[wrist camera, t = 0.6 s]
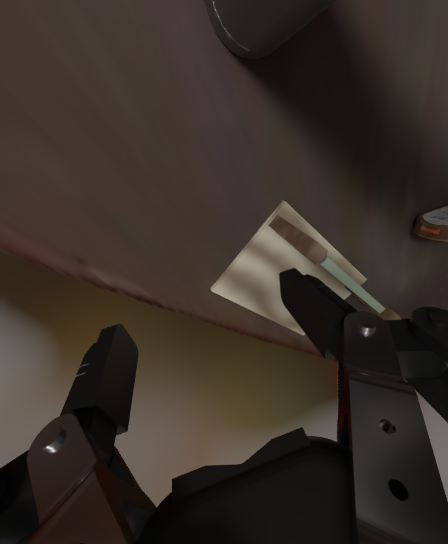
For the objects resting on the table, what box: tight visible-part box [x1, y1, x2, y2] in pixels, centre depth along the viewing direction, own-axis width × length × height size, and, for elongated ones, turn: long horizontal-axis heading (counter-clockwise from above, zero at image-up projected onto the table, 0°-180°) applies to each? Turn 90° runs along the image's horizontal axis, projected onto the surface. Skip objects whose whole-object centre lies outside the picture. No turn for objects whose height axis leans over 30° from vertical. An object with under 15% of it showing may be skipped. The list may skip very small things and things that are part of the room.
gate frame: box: [211, 201, 402, 336], centre depth 35 cm, size 18×27×11 cm, turn 52°
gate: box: [317, 254, 385, 313], centre depth 33 cm, size 2×21×8 cm, turn 52°
